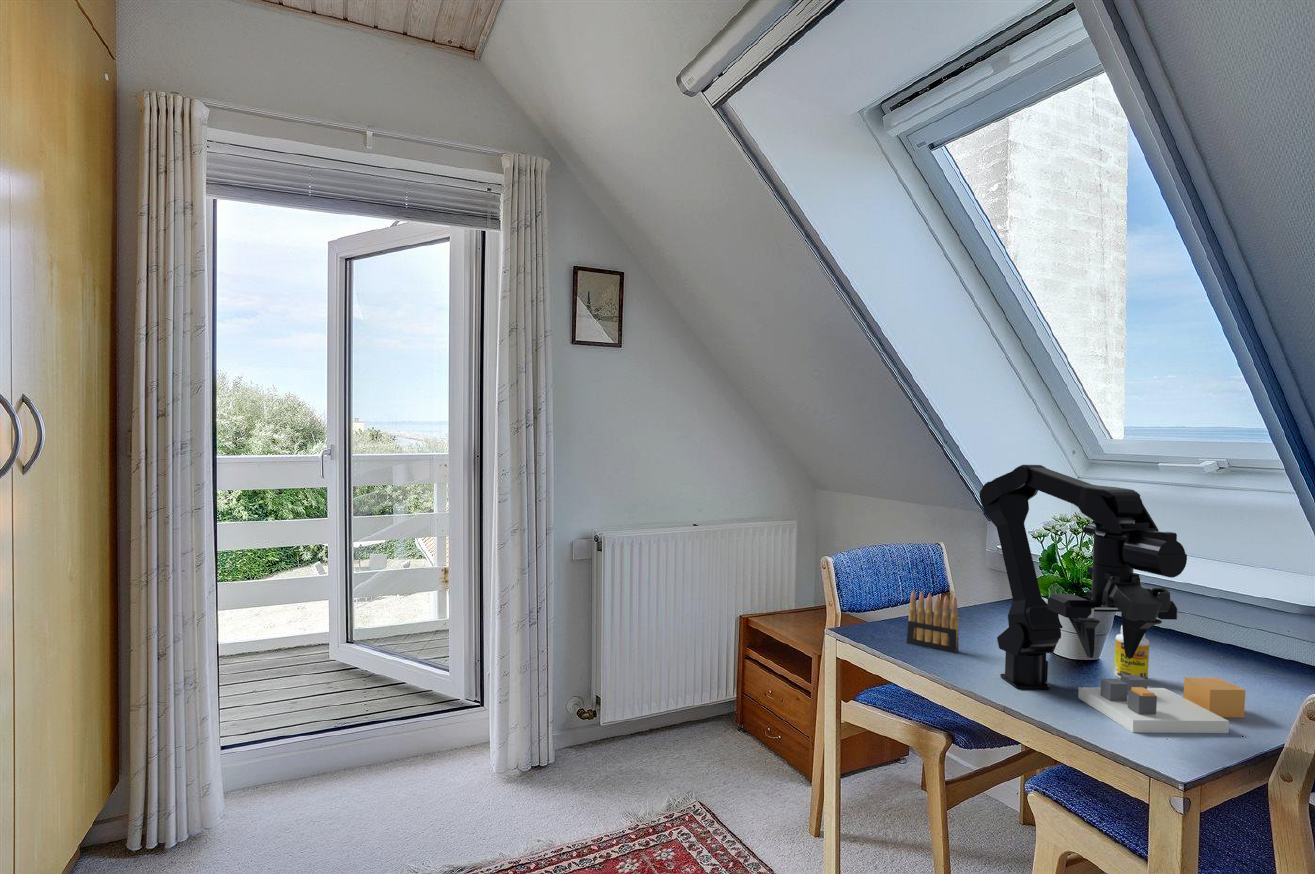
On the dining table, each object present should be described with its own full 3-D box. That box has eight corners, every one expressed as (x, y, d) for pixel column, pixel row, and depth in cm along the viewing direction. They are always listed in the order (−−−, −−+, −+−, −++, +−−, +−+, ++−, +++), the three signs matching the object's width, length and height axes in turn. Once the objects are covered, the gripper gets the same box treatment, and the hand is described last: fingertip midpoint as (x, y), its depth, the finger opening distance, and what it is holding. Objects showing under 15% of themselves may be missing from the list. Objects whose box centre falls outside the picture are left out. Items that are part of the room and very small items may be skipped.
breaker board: (1132, 732, 114) (1134, 701, 114) (1078, 697, 128) (1079, 670, 128) (1228, 733, 115) (1229, 702, 115) (1163, 698, 129) (1165, 671, 129)
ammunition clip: (958, 651, 153) (960, 596, 153) (956, 653, 152) (958, 598, 151) (908, 641, 160) (910, 588, 159) (906, 643, 158) (907, 590, 158)
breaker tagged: (1138, 713, 116) (1139, 692, 116) (1127, 707, 119) (1128, 686, 119) (1156, 714, 116) (1157, 693, 116) (1144, 707, 119) (1145, 687, 119)
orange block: (1209, 717, 121) (1210, 689, 121) (1183, 703, 127) (1184, 677, 126) (1244, 717, 121) (1245, 689, 121) (1216, 703, 127) (1217, 677, 127)
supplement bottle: (1114, 680, 138) (1117, 628, 137) (1112, 671, 142) (1114, 621, 142) (1149, 686, 135) (1151, 633, 135) (1146, 677, 140) (1148, 626, 139)
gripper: (1089, 574, 108) (1086, 674, 109) (1207, 575, 109) (1203, 675, 110) (1047, 559, 120) (1043, 650, 120) (1153, 561, 120) (1150, 651, 121)
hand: (1109, 657), depth 117 cm, fingers open, 6 cm apart
